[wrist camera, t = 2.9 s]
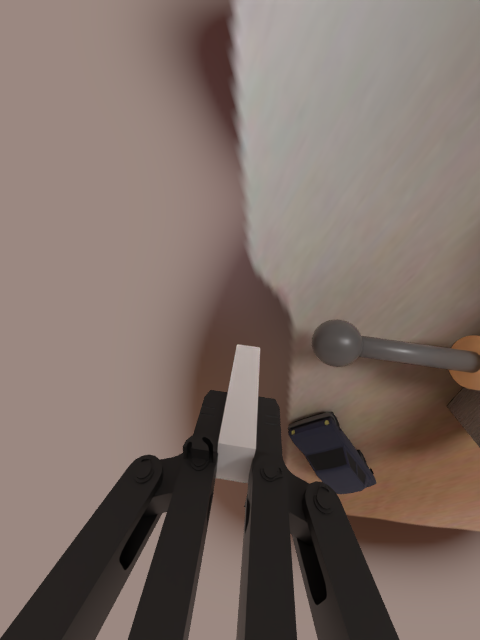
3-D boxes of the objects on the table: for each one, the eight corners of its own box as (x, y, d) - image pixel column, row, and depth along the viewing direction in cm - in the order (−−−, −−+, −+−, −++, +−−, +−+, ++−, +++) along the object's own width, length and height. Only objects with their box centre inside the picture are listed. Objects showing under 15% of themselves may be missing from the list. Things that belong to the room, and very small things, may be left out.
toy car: (328, 402, 27) (339, 442, 23) (371, 463, 32) (387, 505, 28) (285, 416, 29) (287, 455, 25) (332, 471, 35) (341, 511, 30)
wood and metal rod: (317, 279, 19) (340, 325, 12) (621, 318, 18) (811, 390, 11) (297, 347, 22) (307, 408, 16) (547, 383, 21) (660, 463, 15)
